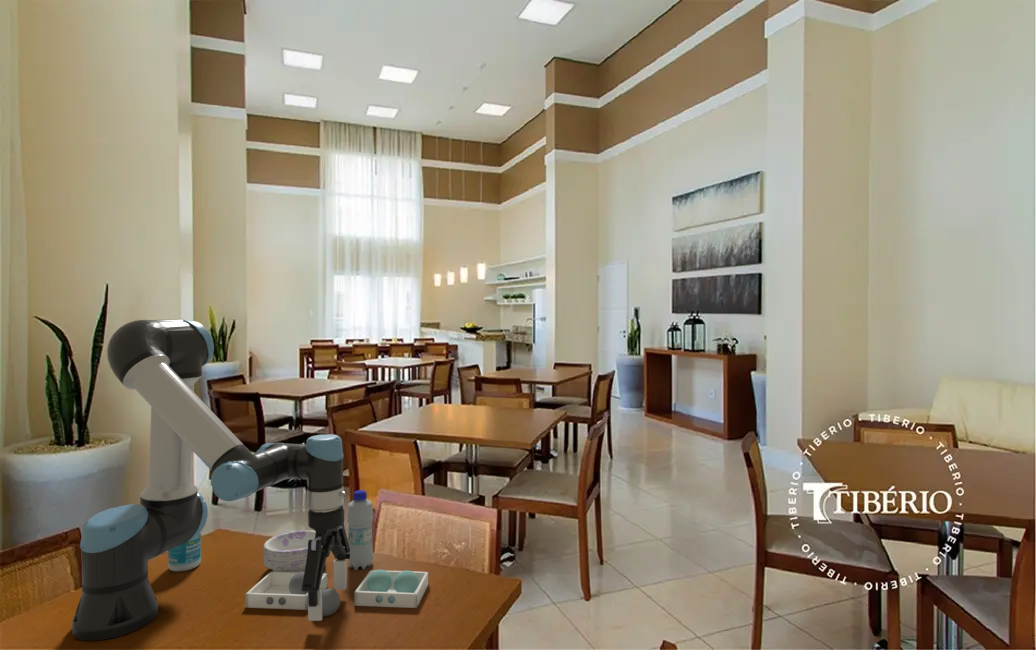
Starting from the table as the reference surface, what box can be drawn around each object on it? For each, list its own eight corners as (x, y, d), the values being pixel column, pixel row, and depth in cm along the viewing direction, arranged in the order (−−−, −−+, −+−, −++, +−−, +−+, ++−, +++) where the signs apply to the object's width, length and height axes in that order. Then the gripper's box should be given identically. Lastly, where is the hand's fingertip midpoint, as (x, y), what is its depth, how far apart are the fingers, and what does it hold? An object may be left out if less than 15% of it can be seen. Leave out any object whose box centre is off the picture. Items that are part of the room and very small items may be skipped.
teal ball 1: (363, 599, 133) (363, 575, 133) (371, 587, 138) (371, 565, 138) (387, 600, 132) (387, 576, 132) (394, 588, 138) (394, 565, 138)
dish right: (354, 608, 130) (354, 592, 130) (370, 584, 141) (370, 570, 141) (416, 610, 129) (416, 594, 129) (428, 586, 140) (428, 571, 140)
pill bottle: (190, 572, 148) (190, 520, 147) (161, 572, 148) (161, 520, 148) (206, 560, 155) (206, 510, 155) (179, 560, 155) (178, 510, 155)
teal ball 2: (391, 600, 132) (391, 576, 132) (398, 588, 138) (397, 565, 138) (415, 601, 132) (414, 577, 132) (420, 589, 137) (420, 566, 137)
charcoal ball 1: (284, 602, 132) (284, 578, 131) (295, 590, 137) (295, 567, 137) (307, 602, 131) (307, 578, 131) (318, 591, 137) (317, 568, 137)
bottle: (366, 573, 147) (366, 495, 147) (342, 571, 148) (341, 493, 148) (378, 562, 154) (377, 487, 153) (355, 560, 155) (354, 485, 155)
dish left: (245, 610, 129) (244, 594, 129) (270, 585, 141) (270, 571, 140) (306, 612, 128) (306, 596, 128) (327, 587, 139) (327, 573, 139)
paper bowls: (304, 553, 160) (304, 524, 160) (339, 567, 151) (339, 536, 151) (251, 573, 148) (251, 542, 147) (286, 589, 139) (285, 556, 138)
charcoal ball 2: (309, 620, 124) (309, 595, 124) (320, 607, 130) (319, 583, 130) (334, 621, 124) (334, 596, 124) (344, 608, 130) (343, 584, 129)
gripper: (318, 528, 114) (321, 635, 114) (362, 489, 139) (364, 577, 139) (282, 527, 114) (284, 634, 115) (332, 489, 139) (334, 577, 140)
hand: (328, 603), depth 127 cm, fingers open, 13 cm apart
